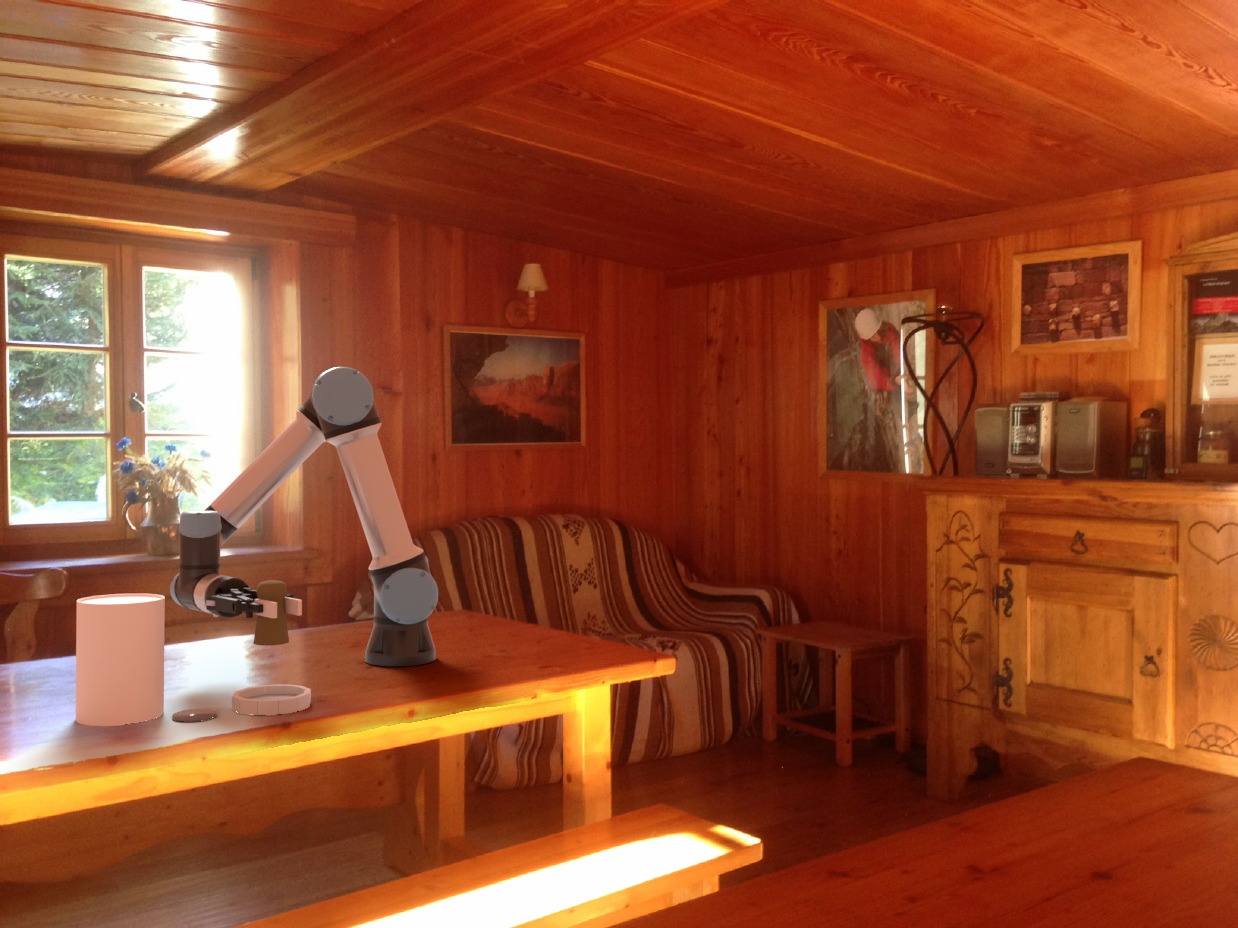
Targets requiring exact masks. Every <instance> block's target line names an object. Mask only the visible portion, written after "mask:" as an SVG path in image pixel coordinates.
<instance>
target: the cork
mask: <svg viewBox="0 0 1238 928" xmlns="http://www.w3.org/2000/svg"><path fill="white" fill-rule="evenodd" d="M255 590H256V592H257V596H258V598H259V599H262V600H268V601H273V602H277V618H269V617H264V616H260V615H256V616H257V617H256V624H255V629H254V630H255V631H254V637H253V644H254V645H255V646H266V647H267V646H280V645H285V644H289V642H290V638H289V629H288V622H287V613H285V605H284V598H285V596H286V594H288V586H287V584H286V582H284V581H281V580H275V579H269V580H268V579H267V580H263V581H261V582H259V583H258V585H257V587H256V589H255Z"/></svg>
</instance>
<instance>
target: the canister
mask: <svg viewBox="0 0 1238 928" xmlns="http://www.w3.org/2000/svg"><path fill="white" fill-rule="evenodd" d="M165 597H166V596H164V595H162V594H156V593H154V594H153V593H113V594H111V593H110V594H102V595H101V594H100V595H91V596H87V597H86V596H85V597H81V598H78V599H77V600H76V621H75V622H76V623H75V625H76V626H75V627H76V629H75V630H76V633H75V634H76V636H75V637H76V639H75V641H76V643H75V644H76V645H75V650H76V651H75V653H76V654H75V722H76V723H78V724H80V725H84V726H89V727H115V726H117V727H119V726H125V724H128V725H131V724H130V723H135V724H140V723H139V722H141V723H144V722H143V721H145V722H147V721H146V720H149V721H152V720H151V719H153V720H155V719H154V718H156V717H158V718H160V717H162V716H163V715H164V712H165V711H164V710H165V709H164V706H165V698H164V697H165V682H164V681H165V623H166V622H165V620H166V619H165V615H166V614H165V613H166V611H165V607H166V605H165V604H166V598H165ZM162 714H163V715H162ZM161 715H162V716H161ZM156 719H157V718H156Z"/></svg>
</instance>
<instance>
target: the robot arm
mask: <svg viewBox="0 0 1238 928" xmlns="http://www.w3.org/2000/svg"><path fill="white" fill-rule="evenodd" d="M374 392H375V391H374V389H373V386H372V384H371V382H370V380H369V378H367V376H366V375H365V374H363V373H362V372H361V371H360V370H358V369H355V368H353V367H349V366H340V365H339V366H335V367H331V368H329V369H326V370H325V371H323V372H321V374H319V376H317V378H316V379H315V381H313V384H312V387H311V393H310V394H309V396H308V397H307V399H306V400H305V401H304V402H303V403H302V404H301V405H300V406H299V407H298V408H297V409H296V413H295V414H296V417H295V418H294V419H293V420H292V421H291V423H290V424H288V425H287V426H286V427H285V428H284V429H283V430H282V431H281V433H280V434H278V435H277V437H275V439H274V440H273V441H271V443H270V444H268V445H267V447H266V448H264V449H263V450H262V452H261V453H260V454H259V455H257V456H256V458H255V459H254V460H253V461H252V462H251V463H250V464H249V465H247V467H246V468H245V469H244V470H243V471H242V472H241V473H240V474H239V475H238V476H237V477H236V478H235V479H234V480H233V481H232V482H231V483H230V484H229V485H228V486H227V487H225V489H224V490H223V491H222V492H221V493H220V494H219V495H218V496H217V497H216V498H215V499H214V500H213V501H212V502H211V503H210V505H208V507H206V508H205V509H204V510H187V511H183V512H181V513H180V517H179V525H178V526H179V527H178V533H179V535H178V536H179V540H178V541H179V544H178V545H179V549H178V550H179V555H178V556H179V557H178V558H179V565H178V573H177V574H176V575H175V576H174V577H173V579H172V581H171V583H170V586H169V593H170V596H171V598H172V600H173V601H174V602H175V604H177V605H178V606H181V607H183V608H184V609H187V610H190V611H196V612H197V611H198V612H202V613H206V614H211V615H212V616H213V617H214V618H218V617H223V618H229V619H231V618H235V617H236V618H237V617H238V616H240V615H242V614H243V613H244V614H245V618H246V619H253V617H254V615H256V616H258V615H260V616H264V617H269V618H277V602H273V601H268V600H262V599H259V598H258V596H257V592H256V590H257V589H254V588H252V587H249V585H248V583H246V582H245V580H244V579H241V578H239V577H234V576H229V575H224V574H221V548H222V547H223V546H224V544H225V543H226V542H227V541H228V540H229V539H230V538H231V537H233V535H234V534H235V533H236V532H237V530H238V529H239V528H240V527H241V526H242V525H243V524H244V523H245V522H247V520H248V519H249V518H250V517H251V516H252V515H254V513H255V512H256V511H257V510H258V509H259V508H260V507H261V506H262V505H263V504H264V503H265V502H266V501H267V500H268V499H269V498H270V497H271V496H272V495H273V494H274V493H275V492H276V491H277V490H278V489H279V488H280V487H281V486H282V485H283V483H284V482H286V481H287V480H288V479H289V478H290V477H291V475H293V474H294V473H295V472H296V470H297V469H299V467H300V466H302V465H303V463H304V462H305V461H306V460H307V459H308V458H309V457H310V456H311V455H312V454H313V453H314V452H315V451H316V450H317V449H319V447H320V446H321V445H322V444H324V443H328V444H330V445H333V446H334V447H335V449H336V451H337V455H338V458H339V461H340V464H341V467H342V469H343V472H344V475H345V479H346V481H347V484H348V488H349V490H350V493H351V497H352V501H353V503H354V505H355V509H356V511H357V515H358V517H359V520H360V523H361V527H362V530H363V532H364V536H365V538H366V541H367V544H368V547H369V551H370V553H371V557H372V558H371V559H372V560H371V562H370V564H369V565H368V567H367V568H368V571H369V574H370V577H371V581H372V583H373V589H374V590H373V627H372V630H371V632H370V633H371V634H370V636H369V639H368V642H367V645H366V648H365V652H364V655H365V656H364V662H366V663H367V664H368V665H373V666H382V667H410V666H411V667H412V666H413V667H414V666H420V665H425V664H429V663H432V662H434V661H436V655H437V653H436V652H437V651H436V650H437V649H436V646H435V642H434V640H433V637H432V633H431V631H430V627H429V619H428V618H429V616H431V614H432V613H433V612H434V610H435V608H436V607H437V604H438V600H439V592H440V591H439V586H438V583H437V581H435V578H434V576H432V573H431V570H430V563H429V559H428V557H427V556H426V555H425V552H424V549H423V548H421V547H418V546H417V545H415V544H414V542H413V539H412V536H411V533H410V530H409V528H408V524H407V520H406V518H405V515H404V512H403V509H402V506H401V503H400V500H399V498H398V494H397V490H396V488H395V487H396V486H395V484H394V482H393V478H392V475H391V473H390V470H389V467H388V464H387V461H386V457H385V454H384V451H383V449H382V445H381V441H380V439H379V435H378V434H379V433H378V432H379V431H380V428H381V426H382V420H381V418H380V415H379V412H378V409H377V404H376V402H375V399H374V398H375V395H374V394H375V393H374ZM284 605H285V613H286V614H287V615H294V616H296V617H297V616H303V600H302V599H301V598H300V599H299V598H295V595H294V594H292V593H287V594H286V596H285V598H284Z"/></svg>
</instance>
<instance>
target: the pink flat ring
mask: <svg viewBox="0 0 1238 928" xmlns="http://www.w3.org/2000/svg"><path fill="white" fill-rule="evenodd" d="M311 691H312V689H311V688H309V687H307V686H304V685H299V684H298V685H297V684H284V683H283V684H282V683H281V684H264V685H262V684H261V685H256V686H249V687H245V688H242V689H239V690H236V691H234V692H233V694H232V695H231V710H234V711H237V712H238V713H237V712H236V713H237V714H239V713H241V714H240V715H244V714H253V715H252V716H254V715H266V716H270V715H269V714H273V715H272V716H275V715H274V714H282V715H287V714H292V713H293V712H294V713H298V712H297V711H299V712H301V711H303V710H306V709H309V708H310V706H311V702H312V701H311V699H312V698H311V697H312V692H311ZM308 707H309V708H308ZM234 711H233V712H234Z"/></svg>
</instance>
